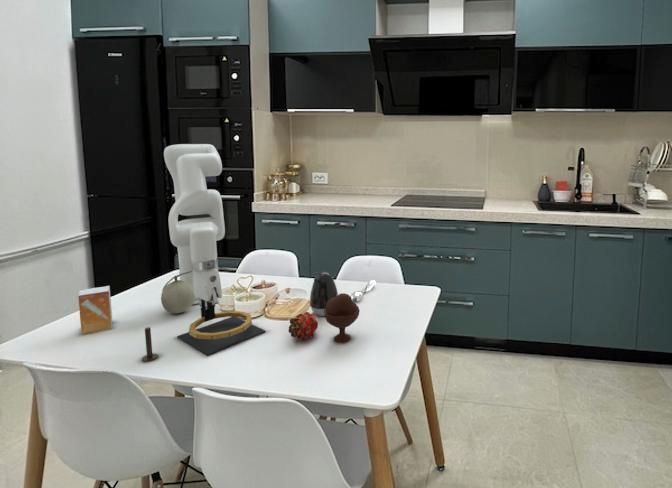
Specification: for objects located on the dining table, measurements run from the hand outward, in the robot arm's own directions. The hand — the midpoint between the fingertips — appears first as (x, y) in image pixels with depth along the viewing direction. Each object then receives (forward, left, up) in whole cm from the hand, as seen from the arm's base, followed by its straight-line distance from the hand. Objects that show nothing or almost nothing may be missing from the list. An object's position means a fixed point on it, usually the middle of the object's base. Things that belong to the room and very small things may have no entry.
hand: (208, 318), depth 143 cm
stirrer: (-54, +18, -4) cm, 57 cm away
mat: (0, +8, -3) cm, 9 cm away
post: (+20, +6, -3) cm, 21 cm away
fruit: (0, -22, -4) cm, 22 cm away
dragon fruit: (-15, +30, -4) cm, 34 cm away
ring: (0, +8, -1) cm, 8 cm away
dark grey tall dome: (-31, +21, -4) cm, 38 cm away
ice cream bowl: (-21, +41, -4) cm, 46 cm away
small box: (+22, -30, -4) cm, 37 cm away
